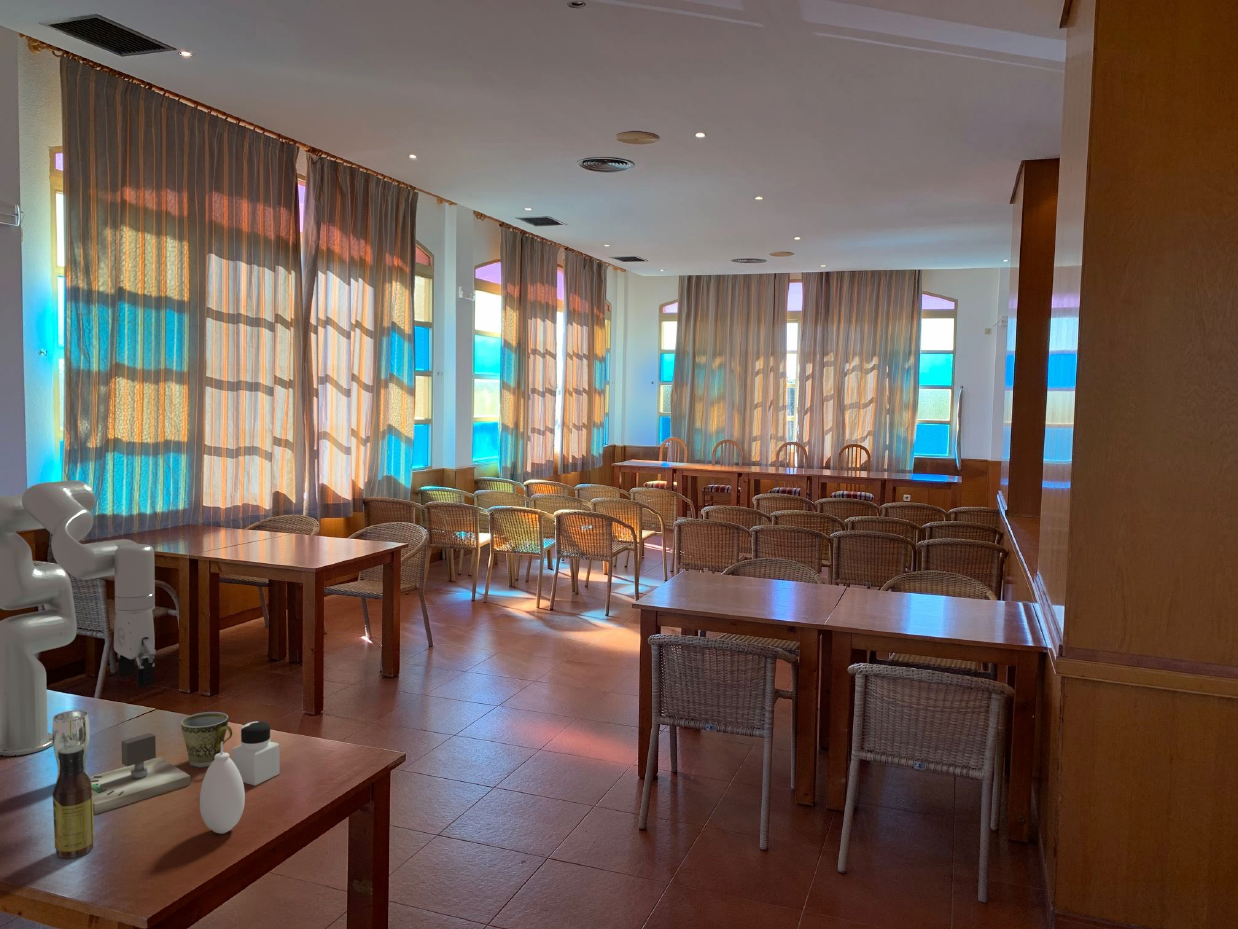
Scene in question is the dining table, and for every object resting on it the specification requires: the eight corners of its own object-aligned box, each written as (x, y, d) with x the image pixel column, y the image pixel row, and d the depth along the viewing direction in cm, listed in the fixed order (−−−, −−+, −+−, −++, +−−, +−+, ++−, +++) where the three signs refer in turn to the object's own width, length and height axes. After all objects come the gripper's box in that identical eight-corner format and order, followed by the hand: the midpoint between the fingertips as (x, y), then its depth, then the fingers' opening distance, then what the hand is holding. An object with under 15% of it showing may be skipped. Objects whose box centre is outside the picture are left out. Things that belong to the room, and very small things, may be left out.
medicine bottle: (280, 774, 203) (279, 722, 202) (255, 786, 197) (254, 732, 196) (256, 768, 206) (256, 716, 205) (231, 780, 200) (230, 726, 199)
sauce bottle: (66, 844, 170) (63, 740, 169) (100, 843, 171) (98, 740, 169) (47, 862, 164) (44, 754, 162) (83, 861, 164) (80, 754, 163)
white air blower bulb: (227, 818, 182) (226, 730, 180) (253, 828, 178) (252, 738, 176) (191, 834, 175) (190, 743, 174) (217, 845, 171) (216, 752, 170)
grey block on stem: (96, 785, 190) (95, 747, 190) (149, 769, 199) (148, 732, 199) (104, 789, 188) (103, 751, 188) (156, 772, 197) (156, 735, 197)
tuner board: (67, 792, 192) (67, 782, 192) (159, 765, 206) (159, 756, 206) (95, 814, 182) (95, 803, 182) (190, 784, 197) (190, 774, 197)
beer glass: (73, 791, 193) (71, 722, 192) (45, 787, 194) (43, 719, 193) (98, 778, 199) (97, 711, 198) (71, 774, 201) (69, 708, 200)
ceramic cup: (171, 765, 207) (170, 723, 206) (206, 750, 216) (205, 709, 215) (214, 775, 202) (214, 731, 201) (248, 759, 211) (248, 717, 210)
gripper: (100, 598, 197) (101, 675, 198) (133, 612, 186) (134, 694, 187) (136, 593, 203) (137, 668, 204) (170, 606, 191) (171, 686, 193)
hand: (135, 680), depth 196 cm, fingers open, 9 cm apart
